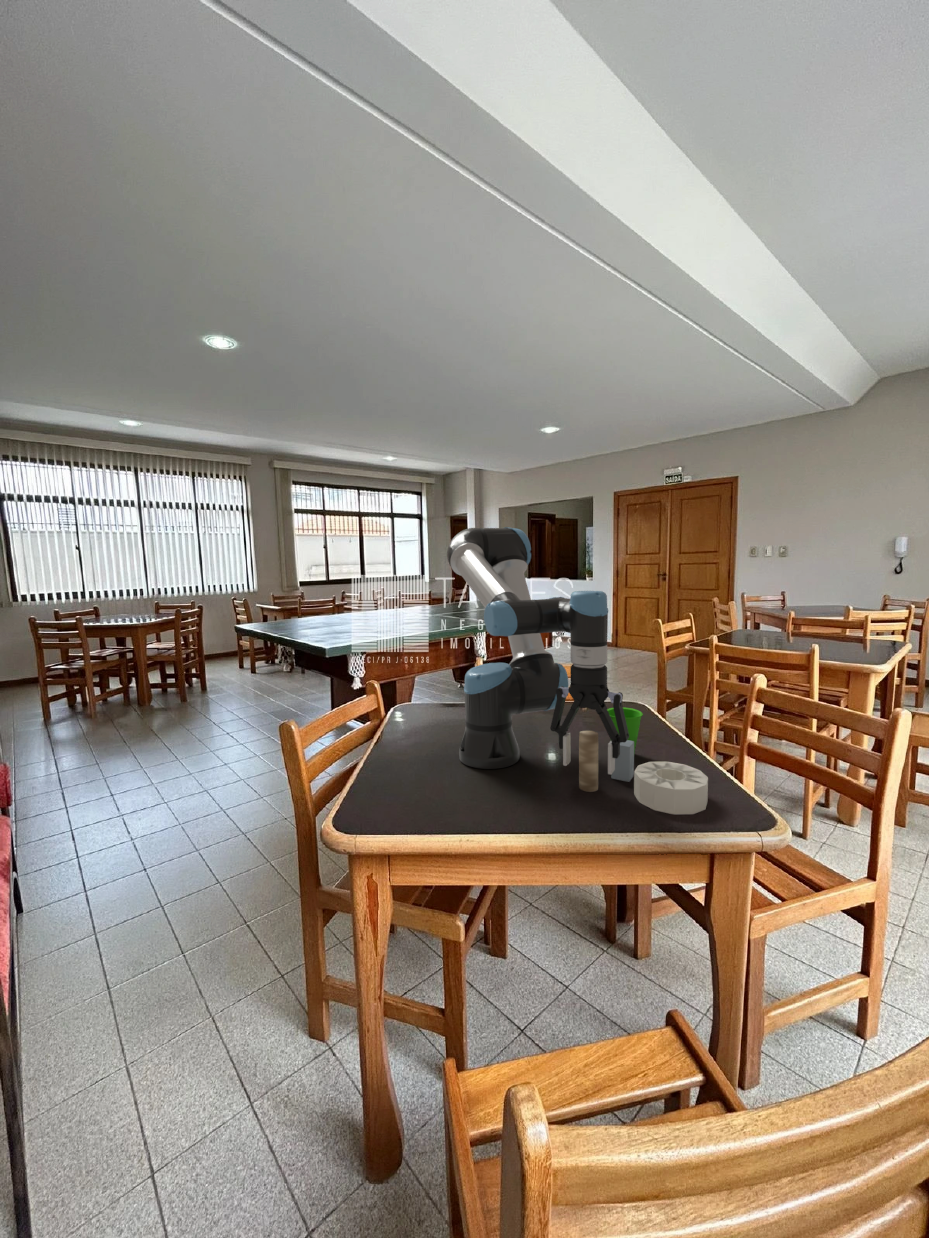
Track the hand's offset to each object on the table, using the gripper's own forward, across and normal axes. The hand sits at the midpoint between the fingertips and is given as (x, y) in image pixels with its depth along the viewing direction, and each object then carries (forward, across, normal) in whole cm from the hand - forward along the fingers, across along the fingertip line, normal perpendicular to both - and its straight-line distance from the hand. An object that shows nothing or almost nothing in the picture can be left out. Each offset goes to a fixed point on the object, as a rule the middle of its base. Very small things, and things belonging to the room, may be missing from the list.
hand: (588, 767), depth 108 cm
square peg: (+5, +5, +9) cm, 11 cm away
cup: (+5, +2, +22) cm, 23 cm away
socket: (+4, +16, +3) cm, 17 cm away
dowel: (+4, 0, 0) cm, 4 cm away
